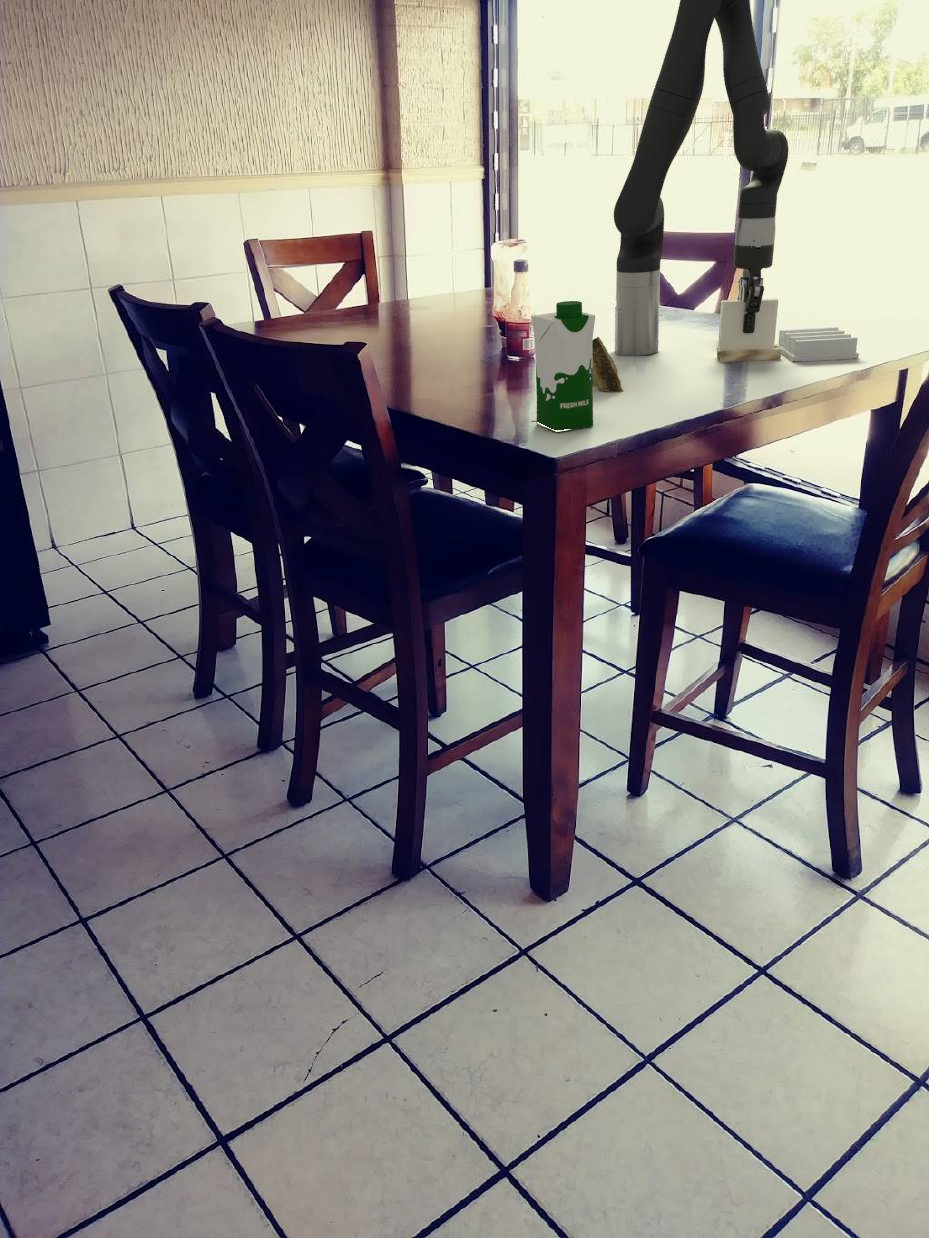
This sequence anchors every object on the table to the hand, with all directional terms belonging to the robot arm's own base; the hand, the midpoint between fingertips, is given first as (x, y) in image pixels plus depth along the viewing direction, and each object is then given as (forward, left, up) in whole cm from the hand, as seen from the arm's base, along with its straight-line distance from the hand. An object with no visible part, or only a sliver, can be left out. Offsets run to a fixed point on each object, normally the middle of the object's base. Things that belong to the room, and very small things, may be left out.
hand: (747, 331), depth 201 cm
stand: (+1, 0, -5) cm, 6 cm away
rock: (-31, -19, -6) cm, 37 cm away
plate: (0, 0, -4) cm, 4 cm away
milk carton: (-40, -47, -6) cm, 62 cm away
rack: (+15, +1, -5) cm, 16 cm away
